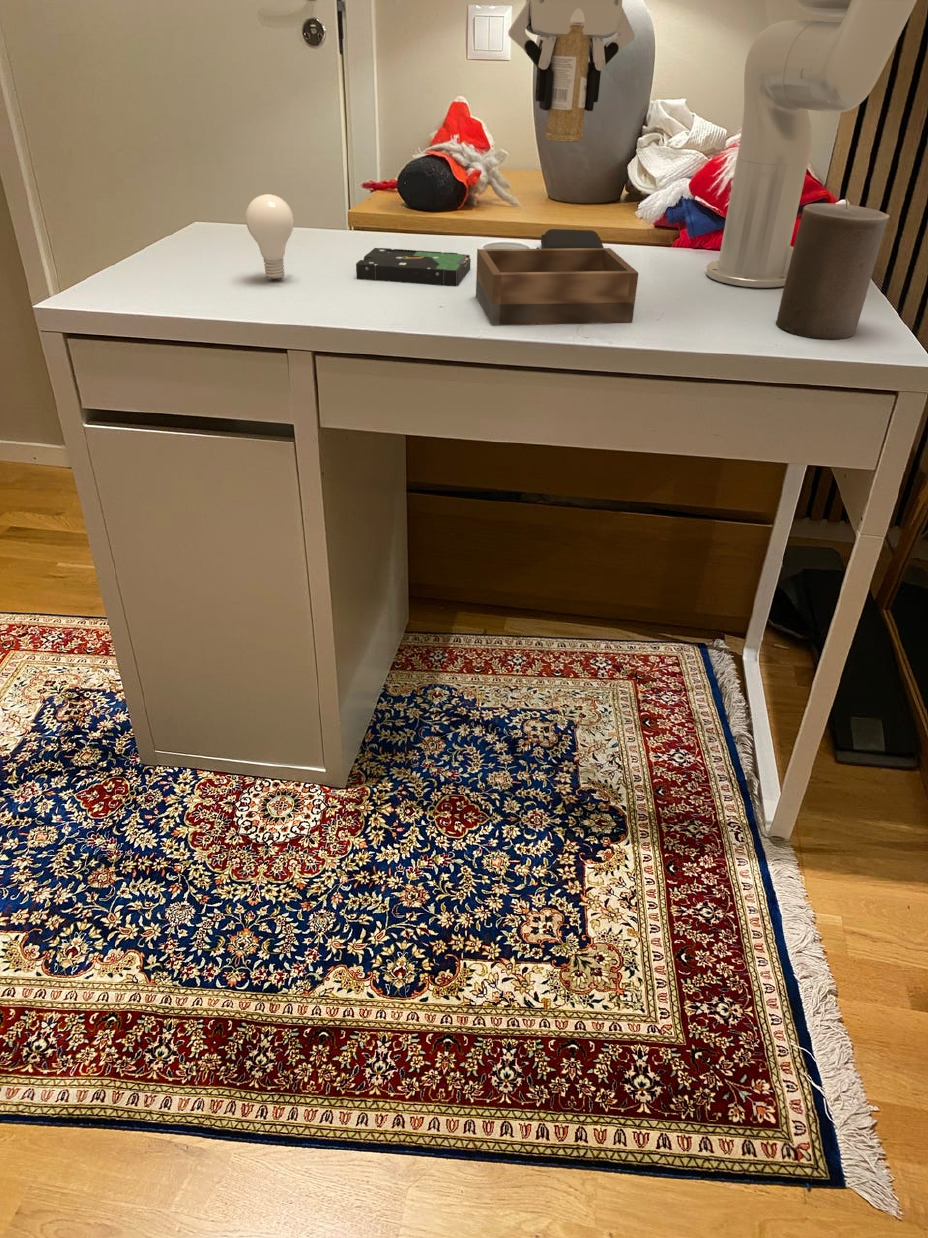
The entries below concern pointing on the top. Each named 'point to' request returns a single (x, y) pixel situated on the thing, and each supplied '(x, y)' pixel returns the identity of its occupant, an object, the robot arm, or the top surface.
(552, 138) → the spice jar
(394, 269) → the disk drive
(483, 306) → the wooden box
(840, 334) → the pillar candle
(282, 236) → the lightbulb
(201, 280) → the top surface
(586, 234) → the carrying case or bag
